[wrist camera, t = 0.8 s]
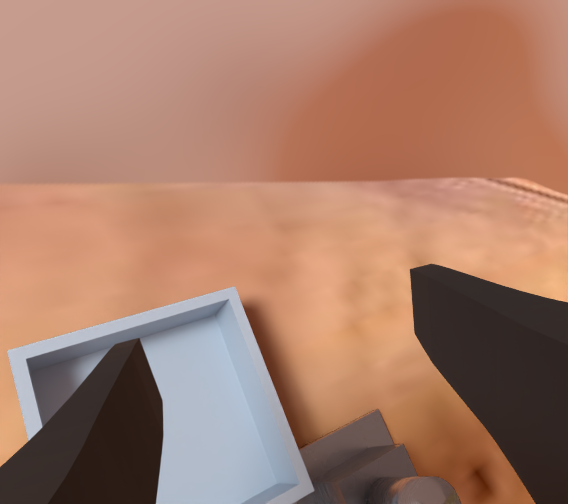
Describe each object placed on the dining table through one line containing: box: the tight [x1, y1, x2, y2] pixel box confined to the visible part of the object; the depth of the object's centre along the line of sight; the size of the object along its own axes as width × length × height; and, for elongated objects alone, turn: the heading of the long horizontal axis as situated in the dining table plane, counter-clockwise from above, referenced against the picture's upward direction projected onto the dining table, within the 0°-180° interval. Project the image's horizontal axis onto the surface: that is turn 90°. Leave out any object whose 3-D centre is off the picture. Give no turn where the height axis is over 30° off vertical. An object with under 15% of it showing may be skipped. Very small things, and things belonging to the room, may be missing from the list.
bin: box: [7, 286, 315, 504], centre depth 23 cm, size 11×11×4 cm
